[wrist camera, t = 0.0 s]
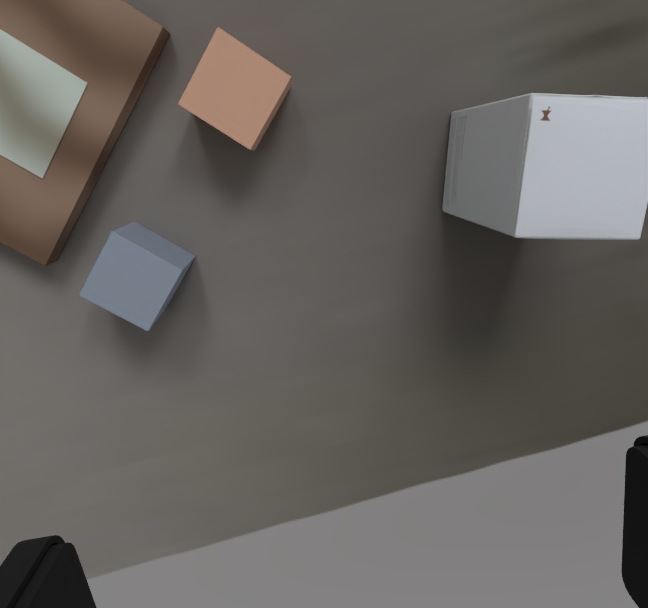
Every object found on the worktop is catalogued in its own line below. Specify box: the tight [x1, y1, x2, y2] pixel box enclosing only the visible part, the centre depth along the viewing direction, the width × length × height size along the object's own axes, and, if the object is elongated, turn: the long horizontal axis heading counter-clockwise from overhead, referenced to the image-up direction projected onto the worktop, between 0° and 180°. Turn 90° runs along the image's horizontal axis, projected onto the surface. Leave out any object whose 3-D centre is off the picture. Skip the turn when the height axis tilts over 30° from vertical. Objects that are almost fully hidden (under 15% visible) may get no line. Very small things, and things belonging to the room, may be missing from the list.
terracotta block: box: [178, 27, 291, 151], centre depth 33 cm, size 5×5×5 cm
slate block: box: [79, 221, 195, 331], centre depth 36 cm, size 5×5×5 cm
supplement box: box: [442, 93, 648, 240], centre depth 32 cm, size 7×7×13 cm
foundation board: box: [0, 0, 170, 266], centre depth 33 cm, size 18×12×2 cm, turn 148°
